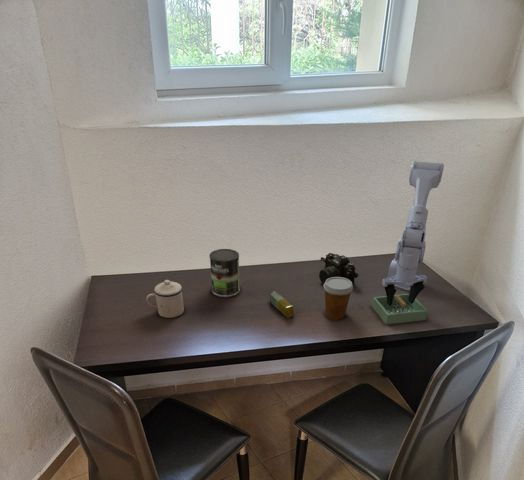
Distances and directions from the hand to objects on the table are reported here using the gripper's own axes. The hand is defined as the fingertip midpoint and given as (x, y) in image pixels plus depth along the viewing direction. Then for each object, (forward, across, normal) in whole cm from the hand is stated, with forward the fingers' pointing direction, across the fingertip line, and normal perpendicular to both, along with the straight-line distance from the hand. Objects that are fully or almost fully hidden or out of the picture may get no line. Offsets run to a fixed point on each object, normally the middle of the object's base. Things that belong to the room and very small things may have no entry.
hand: (400, 303), depth 153 cm
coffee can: (+4, -55, +28) cm, 61 cm away
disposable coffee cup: (+4, -21, +4) cm, 22 cm away
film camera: (+4, -14, +26) cm, 30 cm away
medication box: (+4, -38, +10) cm, 40 cm away
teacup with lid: (+4, -76, +17) cm, 78 cm away
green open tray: (+4, 0, 0) cm, 4 cm away
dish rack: (+4, 0, 0) cm, 4 cm away
